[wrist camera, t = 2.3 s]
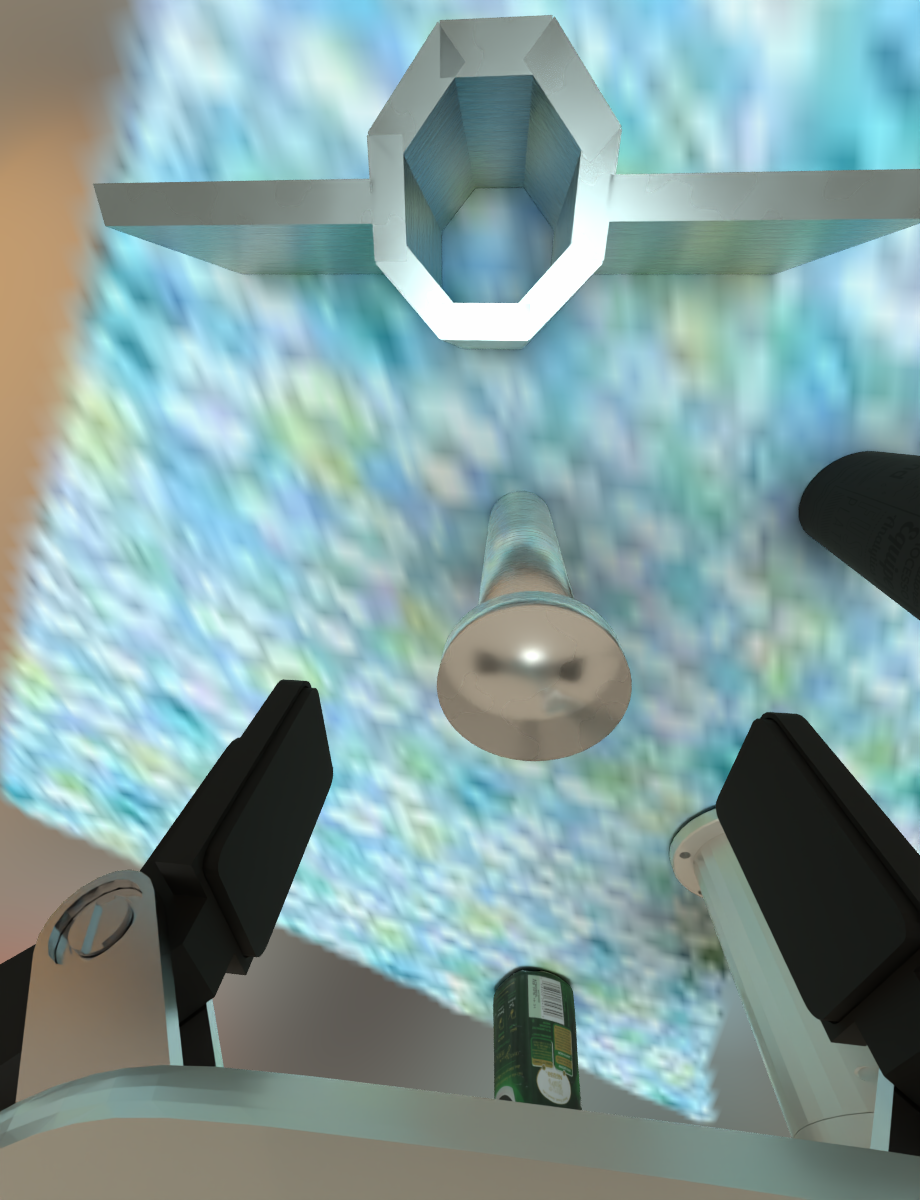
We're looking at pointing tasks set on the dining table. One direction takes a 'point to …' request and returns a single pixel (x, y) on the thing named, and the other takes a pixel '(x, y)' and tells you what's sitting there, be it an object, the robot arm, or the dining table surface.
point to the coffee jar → (536, 1041)
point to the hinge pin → (531, 649)
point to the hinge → (511, 159)
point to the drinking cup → (871, 520)
